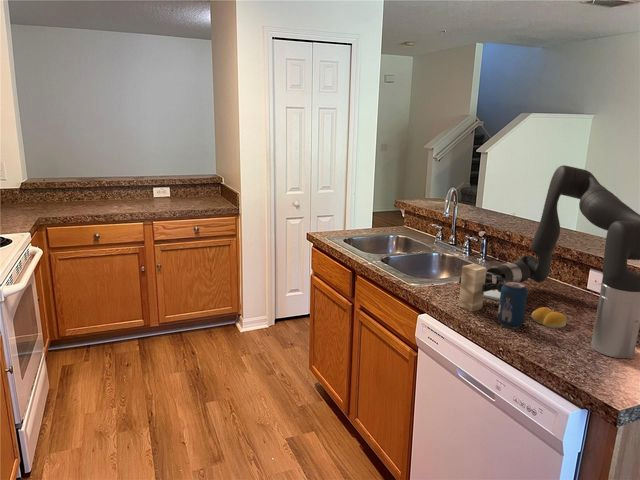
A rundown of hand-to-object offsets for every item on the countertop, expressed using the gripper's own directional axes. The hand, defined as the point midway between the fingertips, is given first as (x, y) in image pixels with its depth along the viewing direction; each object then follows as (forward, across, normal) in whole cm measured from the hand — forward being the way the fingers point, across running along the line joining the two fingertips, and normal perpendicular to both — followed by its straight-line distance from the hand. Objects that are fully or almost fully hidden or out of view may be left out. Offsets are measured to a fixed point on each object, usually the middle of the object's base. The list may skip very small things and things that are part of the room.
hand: (471, 284), depth 145 cm
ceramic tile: (-17, -6, +8) cm, 19 cm away
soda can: (0, +14, +8) cm, 16 cm away
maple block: (0, 0, +8) cm, 8 cm away
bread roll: (-11, +19, +8) cm, 24 cm away
